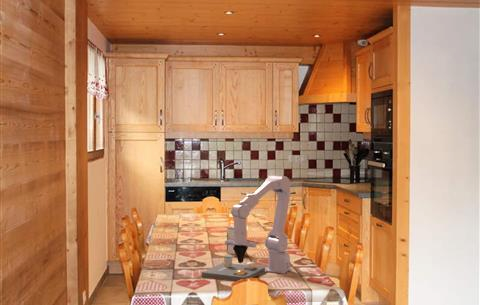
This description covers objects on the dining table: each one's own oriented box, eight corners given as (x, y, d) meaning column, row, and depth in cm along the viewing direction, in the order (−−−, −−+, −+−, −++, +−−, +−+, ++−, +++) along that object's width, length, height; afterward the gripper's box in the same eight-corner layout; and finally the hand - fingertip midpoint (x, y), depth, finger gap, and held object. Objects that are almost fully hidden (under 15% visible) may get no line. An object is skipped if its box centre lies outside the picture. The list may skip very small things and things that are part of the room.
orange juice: (247, 239, 333) (247, 206, 332) (239, 242, 326) (238, 208, 325) (237, 238, 337) (236, 205, 337) (228, 240, 330) (228, 207, 330)
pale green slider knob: (232, 266, 259) (232, 256, 259) (230, 267, 257) (230, 257, 257) (226, 265, 260) (225, 255, 260) (224, 266, 259) (223, 256, 258)
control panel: (265, 271, 257) (265, 267, 257) (245, 282, 239) (245, 277, 239) (223, 266, 267) (223, 262, 267) (201, 276, 249) (201, 272, 249)
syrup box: (233, 251, 301) (233, 224, 300) (242, 252, 297) (241, 225, 296) (226, 253, 296) (226, 226, 296) (235, 254, 293) (234, 227, 292)
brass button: (246, 276, 247) (246, 270, 246) (242, 278, 243) (242, 272, 243) (238, 275, 248) (238, 269, 248) (234, 277, 245) (234, 271, 245)
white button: (256, 268, 255) (256, 262, 255) (252, 270, 252) (252, 264, 252) (248, 267, 257) (248, 261, 257) (244, 269, 254) (244, 263, 254)
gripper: (221, 232, 245) (221, 262, 245) (251, 234, 238) (251, 266, 239) (229, 229, 251) (229, 259, 252) (258, 231, 244) (258, 262, 245)
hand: (240, 262), depth 246 cm, fingers closed
